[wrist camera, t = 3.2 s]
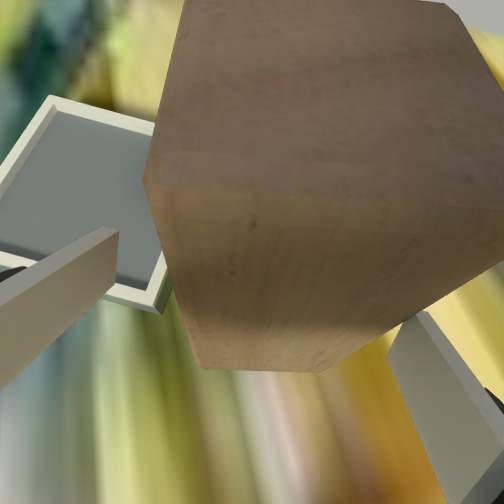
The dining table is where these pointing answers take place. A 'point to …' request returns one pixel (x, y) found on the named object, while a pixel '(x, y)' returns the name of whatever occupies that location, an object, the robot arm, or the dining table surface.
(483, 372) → the dining table surface
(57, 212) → the baseplate
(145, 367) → the dining table surface
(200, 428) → the dining table surface
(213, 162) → the block
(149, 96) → the dining table surface
